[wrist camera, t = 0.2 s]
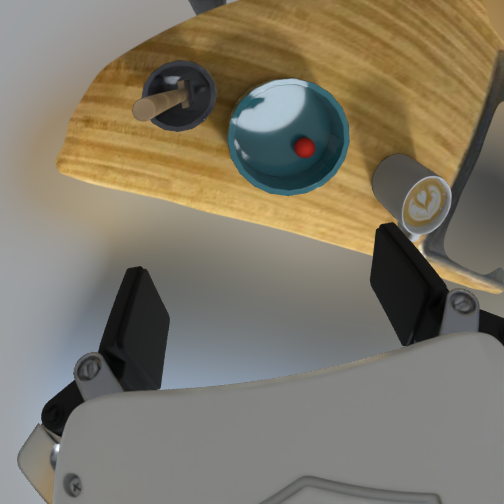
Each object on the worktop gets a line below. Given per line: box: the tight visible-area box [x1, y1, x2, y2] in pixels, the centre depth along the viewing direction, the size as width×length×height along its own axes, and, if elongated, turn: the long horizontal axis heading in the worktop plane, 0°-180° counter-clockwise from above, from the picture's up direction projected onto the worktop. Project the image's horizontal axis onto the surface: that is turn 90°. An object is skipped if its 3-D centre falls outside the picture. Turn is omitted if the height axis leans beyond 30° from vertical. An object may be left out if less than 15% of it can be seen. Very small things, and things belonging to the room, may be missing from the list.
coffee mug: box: [372, 154, 451, 242], centre depth 40 cm, size 13×10×10 cm
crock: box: [142, 60, 219, 132], centre depth 30 cm, size 8×8×9 cm
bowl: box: [227, 78, 350, 196], centre depth 36 cm, size 16×16×6 cm
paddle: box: [132, 80, 194, 121], centre depth 24 cm, size 4×2×22 cm, turn 9°
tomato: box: [294, 138, 315, 158], centre depth 38 cm, size 3×3×3 cm
